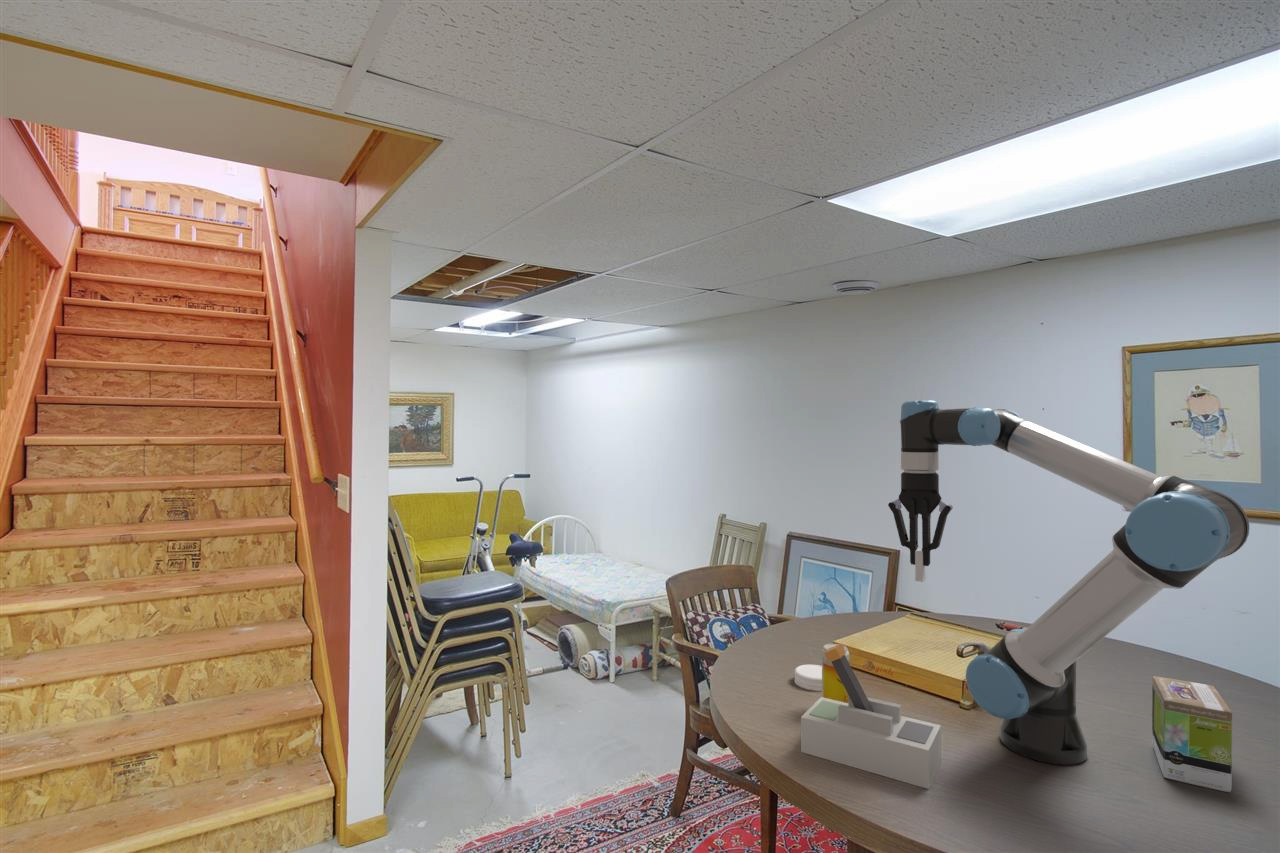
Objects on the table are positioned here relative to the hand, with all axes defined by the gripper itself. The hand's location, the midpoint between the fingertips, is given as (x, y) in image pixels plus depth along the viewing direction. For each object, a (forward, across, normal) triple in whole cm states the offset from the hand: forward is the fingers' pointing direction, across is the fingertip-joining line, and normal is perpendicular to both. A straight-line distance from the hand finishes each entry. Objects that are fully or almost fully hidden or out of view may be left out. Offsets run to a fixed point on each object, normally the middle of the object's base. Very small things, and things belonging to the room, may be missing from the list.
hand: (920, 580), depth 140 cm
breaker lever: (+25, +6, +18) cm, 31 cm away
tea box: (+33, -46, -12) cm, 57 cm away
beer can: (+33, +18, +2) cm, 37 cm away
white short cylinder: (+33, +28, -12) cm, 45 cm away
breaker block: (+32, +6, +18) cm, 38 cm away
